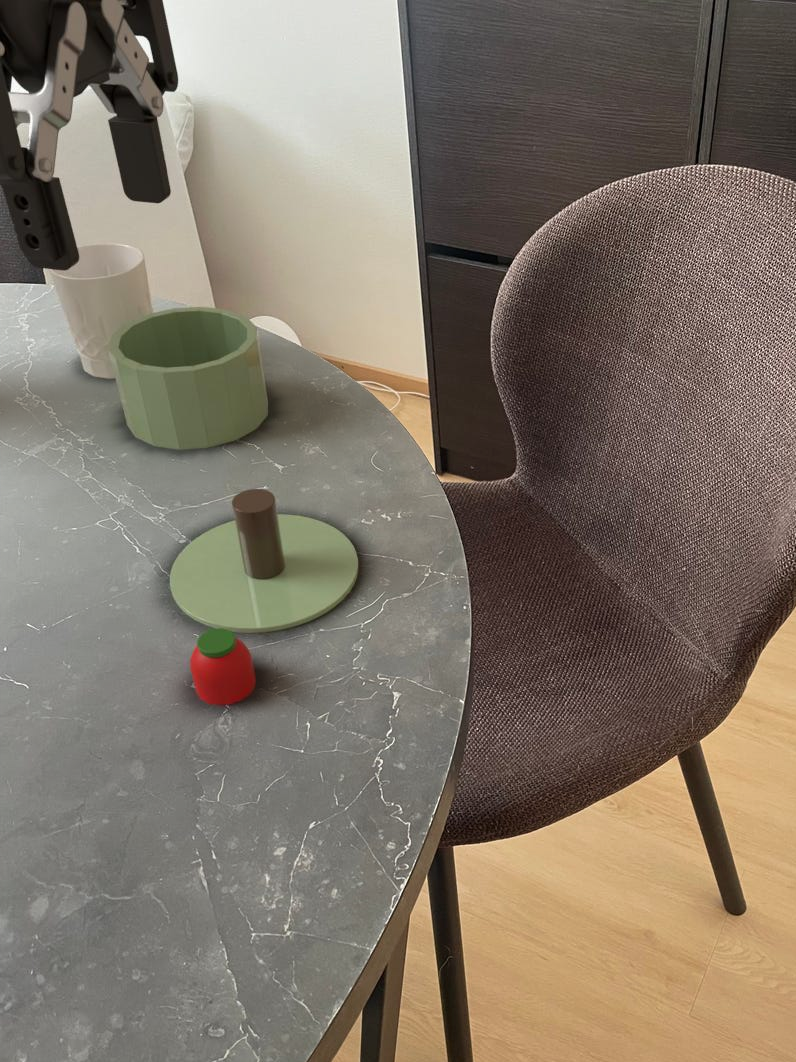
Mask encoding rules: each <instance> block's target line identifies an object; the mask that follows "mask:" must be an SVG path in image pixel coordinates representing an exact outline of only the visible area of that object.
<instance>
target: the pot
mask: <svg viewBox="0 0 796 1062" xmlns="http://www.w3.org/2000/svg"><path fill="white" fill-rule="evenodd" d="M108 351H109V355H110V359H111V363H112V367H113V371H114V375H115V378H114V379H115V383H116V387H117V390H118V395H119V399H120V401H121V407H122V410H123V414H124V418H125V422H126V426H127V427H128V429H129V430H130V431H131V433H132V435H133V436H134V437H135V438H136V439H137V440H140V441H142V442H144V443H147V444H149V445H151V446H153V447H158V448H165V449H171V450H172V449H173V450H179V451H183V450H184V451H185V450H195V449H208V448H213V447H217V446H221V445H224V444H227V443H231V442H235V441H237V440H239V439H241V438H243V437H245V436H246V435H248V434H250V433H251V432H254V431H255V430H257V429H258V428H259V427H260V426H261V424H262V423H263V422H264V420H265V419H267V417H268V415H269V400H268V392H267V386H266V379H265V373H264V366H263V359H262V352H261V345H260V338H259V333H258V327H257V326H256V325H255V324H254V323H253V322H252V321H251V319H249V318H248V317H247V316H246V315H244V314H243V315H242V314H240V313H237V312H235V311H232V310H229V309H225V308H216V307H207V306H192V307H189V306H188V307H174V308H168V309H165V310H160V311H156V312H154V313H151V314H148V315H145V316H142V317H140V318H138V319H135V320H133V321H131V322H129V323H126V324H125V325H124V326H122V327H121V328H120V329H119V330H118V331H117V332H115V333H114V334H113V335H112V336H111V340H110V343H109V347H108Z"/></svg>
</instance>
